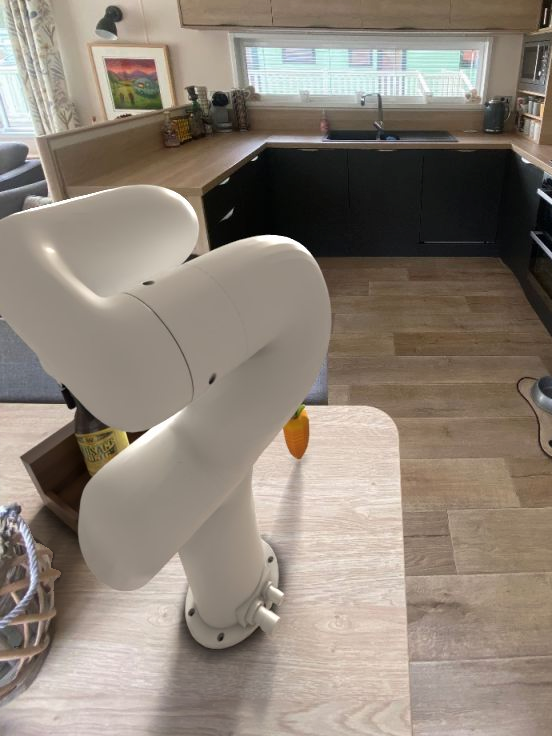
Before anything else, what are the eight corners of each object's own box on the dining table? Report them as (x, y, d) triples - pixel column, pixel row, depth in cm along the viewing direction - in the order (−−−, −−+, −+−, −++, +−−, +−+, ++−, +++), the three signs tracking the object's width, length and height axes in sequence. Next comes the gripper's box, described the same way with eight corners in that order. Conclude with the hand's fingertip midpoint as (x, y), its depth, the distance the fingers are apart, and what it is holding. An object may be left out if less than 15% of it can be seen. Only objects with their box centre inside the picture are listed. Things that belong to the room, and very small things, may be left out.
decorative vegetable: (317, 457, 75) (312, 399, 69) (296, 476, 71) (288, 417, 66) (302, 441, 78) (296, 385, 72) (281, 458, 75) (272, 400, 69)
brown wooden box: (174, 455, 75) (160, 410, 70) (85, 540, 62) (61, 491, 57) (134, 431, 80) (119, 387, 75) (44, 504, 67) (19, 456, 62)
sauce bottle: (85, 489, 66) (44, 400, 58) (102, 455, 71) (67, 371, 64) (127, 481, 67) (93, 393, 59) (141, 448, 72) (111, 365, 65)
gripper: (114, 317, 56) (144, 410, 63) (50, 288, 63) (84, 375, 70) (55, 349, 50) (95, 449, 57) (-9, 314, 56) (34, 406, 63)
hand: (88, 407), depth 63 cm, fingers closed on sauce bottle, 4 cm apart
